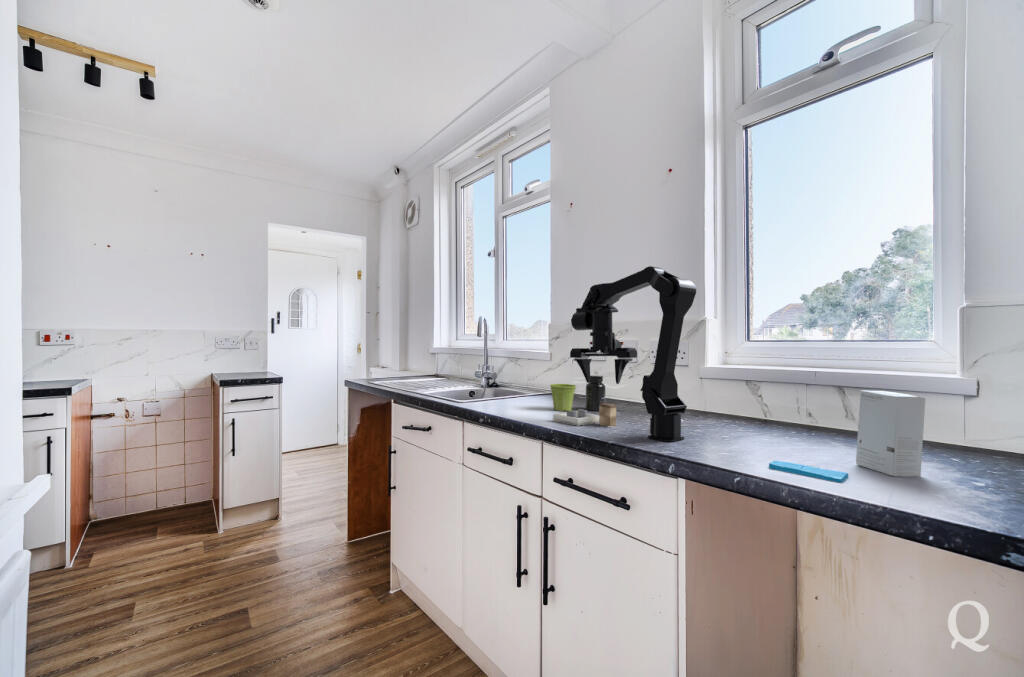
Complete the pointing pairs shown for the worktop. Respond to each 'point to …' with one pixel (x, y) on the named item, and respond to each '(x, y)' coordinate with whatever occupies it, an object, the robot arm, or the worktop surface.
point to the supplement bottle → (595, 393)
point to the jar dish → (576, 417)
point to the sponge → (809, 471)
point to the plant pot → (562, 396)
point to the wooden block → (607, 414)
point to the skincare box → (890, 432)
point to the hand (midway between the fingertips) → (602, 383)
